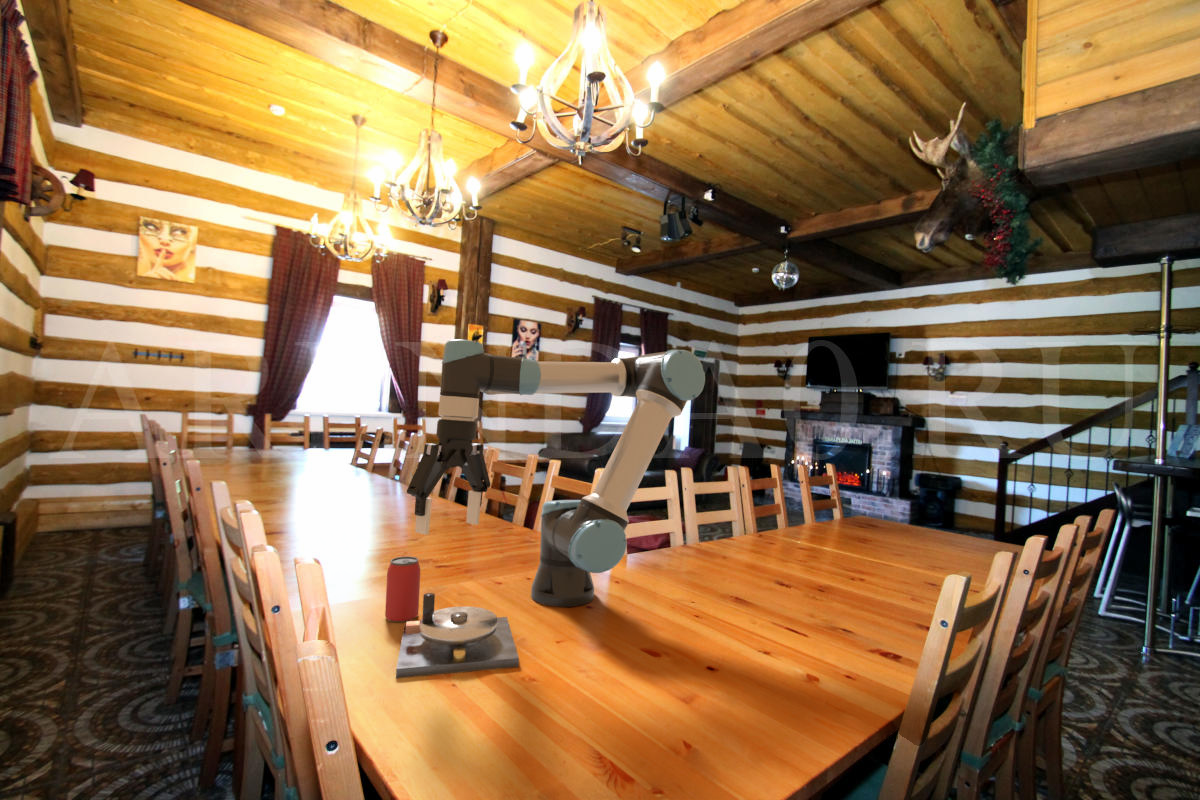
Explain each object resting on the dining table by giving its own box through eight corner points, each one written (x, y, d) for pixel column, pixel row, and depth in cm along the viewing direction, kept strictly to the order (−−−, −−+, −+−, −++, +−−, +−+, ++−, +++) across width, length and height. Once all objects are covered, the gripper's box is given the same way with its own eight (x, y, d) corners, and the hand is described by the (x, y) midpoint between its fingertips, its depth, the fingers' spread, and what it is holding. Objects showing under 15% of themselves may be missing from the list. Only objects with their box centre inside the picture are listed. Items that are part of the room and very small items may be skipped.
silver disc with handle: (493, 612, 109) (495, 579, 109) (500, 641, 96) (502, 604, 96) (408, 617, 104) (409, 583, 105) (402, 648, 91) (404, 610, 91)
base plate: (506, 624, 112) (507, 607, 112) (518, 666, 94) (519, 646, 94) (404, 631, 107) (405, 613, 107) (395, 678, 88) (396, 656, 88)
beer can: (407, 625, 110) (410, 565, 110) (378, 621, 111) (381, 562, 111) (424, 613, 116) (426, 557, 116) (396, 610, 117) (399, 554, 118)
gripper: (484, 420, 119) (476, 517, 118) (392, 415, 97) (382, 534, 96) (512, 422, 115) (504, 522, 114) (423, 417, 93) (412, 541, 92)
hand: (448, 528), depth 105 cm, fingers open, 13 cm apart
